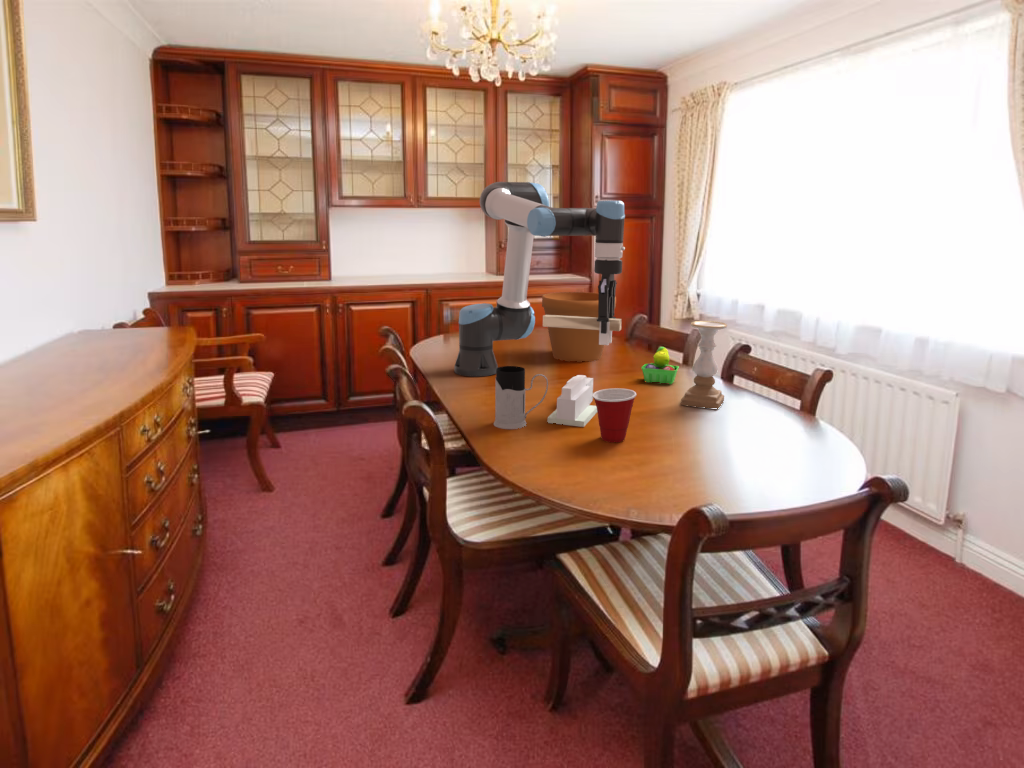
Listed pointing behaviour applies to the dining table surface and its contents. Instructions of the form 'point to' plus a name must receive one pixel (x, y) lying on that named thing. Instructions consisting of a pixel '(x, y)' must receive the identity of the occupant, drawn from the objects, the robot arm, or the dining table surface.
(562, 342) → the flowerpot
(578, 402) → the ridge stand
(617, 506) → the dining table surface
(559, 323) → the birch batten
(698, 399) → the candle holder
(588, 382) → the rest block
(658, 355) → the fruit basket
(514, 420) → the glass holder
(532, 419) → the dining table surface
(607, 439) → the plastic cup
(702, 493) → the dining table surface
